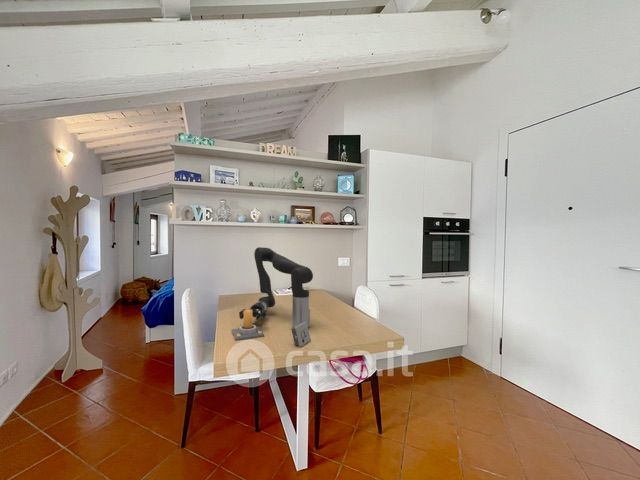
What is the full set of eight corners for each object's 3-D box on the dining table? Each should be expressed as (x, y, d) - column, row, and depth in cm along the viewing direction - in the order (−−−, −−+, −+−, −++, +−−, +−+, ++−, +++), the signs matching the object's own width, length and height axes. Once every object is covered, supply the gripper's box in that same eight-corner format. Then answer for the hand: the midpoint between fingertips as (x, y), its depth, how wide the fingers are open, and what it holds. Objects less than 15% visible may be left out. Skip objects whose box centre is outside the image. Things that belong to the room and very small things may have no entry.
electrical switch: (300, 347, 124) (299, 327, 124) (291, 346, 127) (290, 326, 127) (311, 341, 132) (309, 321, 133) (302, 340, 135) (300, 321, 135)
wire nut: (251, 330, 143) (251, 309, 143) (253, 332, 140) (253, 311, 139) (242, 331, 142) (242, 310, 141) (244, 333, 138) (244, 312, 137)
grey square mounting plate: (258, 327, 150) (258, 321, 150) (264, 336, 137) (264, 329, 137) (231, 331, 144) (231, 324, 144) (235, 340, 131) (235, 333, 131)
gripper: (246, 302, 158) (235, 309, 142) (270, 303, 157) (262, 310, 141) (246, 315, 159) (235, 324, 142) (270, 315, 157) (262, 325, 141)
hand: (248, 317), depth 142 cm, fingers open, 8 cm apart
